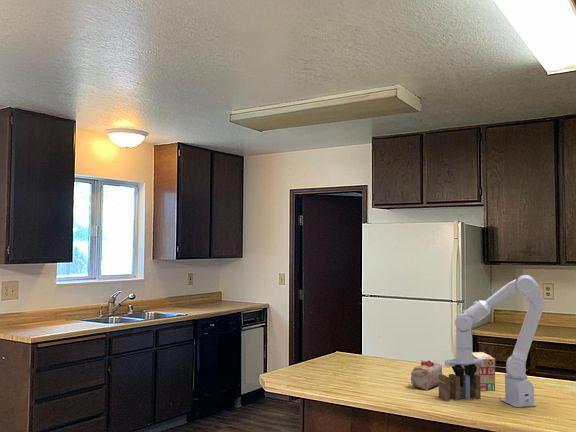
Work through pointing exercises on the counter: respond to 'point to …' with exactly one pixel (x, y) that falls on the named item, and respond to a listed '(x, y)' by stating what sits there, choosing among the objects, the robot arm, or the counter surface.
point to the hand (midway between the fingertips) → (464, 386)
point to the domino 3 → (475, 387)
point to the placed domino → (465, 387)
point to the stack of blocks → (485, 371)
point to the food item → (426, 375)
